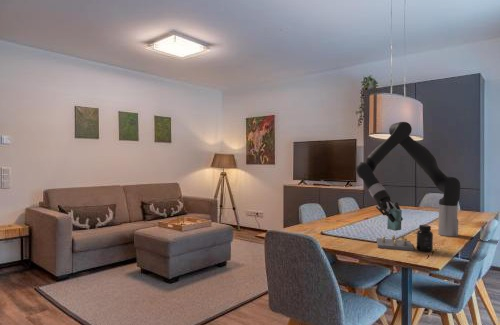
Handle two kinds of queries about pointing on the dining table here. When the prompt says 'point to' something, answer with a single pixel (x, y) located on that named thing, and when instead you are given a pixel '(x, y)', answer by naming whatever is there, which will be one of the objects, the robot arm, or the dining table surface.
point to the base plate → (394, 244)
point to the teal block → (396, 224)
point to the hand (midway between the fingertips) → (397, 220)
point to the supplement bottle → (424, 239)
